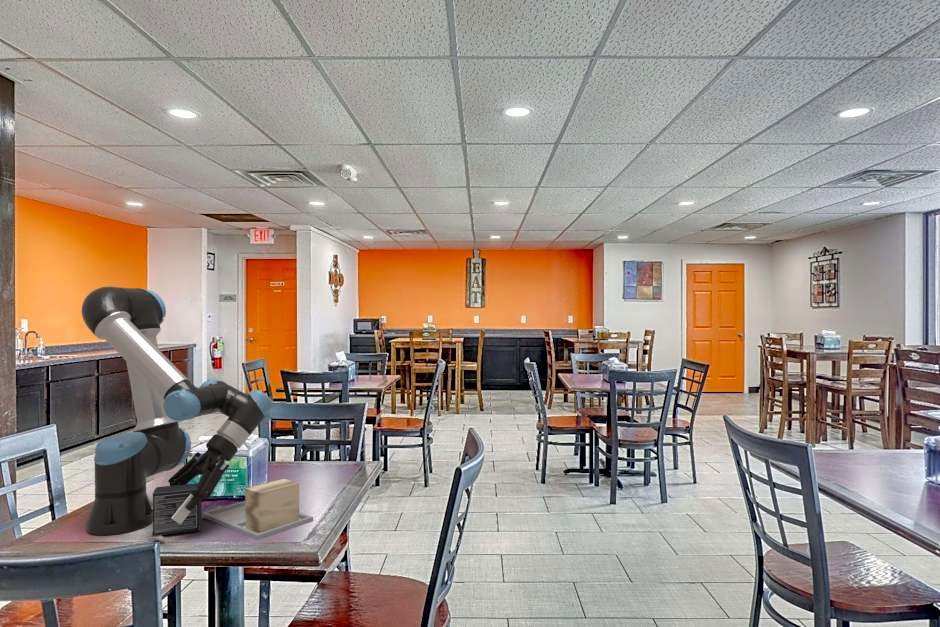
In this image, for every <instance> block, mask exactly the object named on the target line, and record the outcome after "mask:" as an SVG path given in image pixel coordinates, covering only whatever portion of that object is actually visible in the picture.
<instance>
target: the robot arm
mask: <svg viewBox="0 0 940 627" xmlns="http://www.w3.org/2000/svg"><path fill="white" fill-rule="evenodd" d="M81 315H82V316H81V317H82V319H83V322H84V323H85V325H86V328H87V329H89V330H90V332H92V334H93V335H94V336H95V337H96V338H97V339H99V340H105V341H106V342H107V343H108V344H109V345H110V346H111V347H112V348H113V349H114V351H116V352H117V353H118V354H119V355H120V356H121V357H122V358H123V359H124V361H125V362H126V368H127V373H128V379H129V383H130V389H131V395H132V399H133V406H134V411H135V417H136V422H137V423H136V426H135V427H134V428H133V429H132V431H131V432H123V433H118V434H113V435H110V436H107V437H105V438H103V439H101V440H100V441H99V442H97V444H96V446H95V452H94V453H95V454H94V458H93V461H94V462H93V463H94V501H93V504H92V507H91V509H90V513H89V515H88V518H87V521H86V532H87V533H88V534H90V535H97V536H112V535H120V534H125V533H130V532H134V531H137V530H140V529H143V528H145V527H148V526H149V525H151V524H153V505H152V503H151V502H150V498H149V496H148V493H147V478H149V477H152V476H155V475H157V474H161V473H163V472H167V471H172V470H173V469H175V468H177V467H179V466H181V465H182V464H184V462H185V461H186V460H187V459H188V457H189V455H190V453H191V448H192V440H191V437H190V435H189V433H188V432H187V431H185V428H182V427H180V426H179V425H180V424H179V421H185V420H192V419H194V418H197V417H199V418H200V417H203V416H206V415H212V414H215V413H220V414H222V415H224V416H226V417H228V418H227V419H226V420H225V421H224V422H223V423H222V425H221V426H220V427H219V428H218V429H217V430H216V434H213V436H212V437H211V438H209V440H208V442H206V445H205V446H206V448H207V450H206V451H205V452H204V453H203V454H202V453H200V452H199V451H197V452H196V453H195V454H194V455H193V456H192V458H191V459H189V460H188V462H187V463H186V464H184V465H183V466H182V467H181V468H179V470H177V472H175V473H174V474H173V475H171V477H170V478H169V479H168V480H167V481H168V483H169V486H174V485H184V484H189V482H191V481H192V480H194V479H195V478H196V477H197V476H199V475H200V478H199V481H198V482H197V483H198V485H197V487H196V490H195V491H193V492H191V493H192V494H193V495H194V496H193V495H192V494H190V495H189V497H188V498H187V499H186V500H185V502H184V503H183V504H182V505H181V506H180V508H179V509H178V510H177V511H176V513H175V514H174V515H173V516H172V517H171V518H172V519H173V520H175V521H176V522H177V523H179V524H181V523H182V522H183V521H184V520H185V518H186V517H187V516H188V515H189V513H190V512H191V511H192V510H193V509H194V507H195V506H196V505H197V504H198V502H199V501H200V500H201V501H203V500H204V499H205V500H209V499H210V497H211V496H212V494H213V492H214V490H215V488H216V487H217V486H218V484H219V482H220V480H221V479H222V477H223V475H224V473H225V472H226V471H227V470H228V468H230V464H229V463H227V462H230V461H231V460H232V459H233V457H234V456H235V455H236V454H237V452H238V449H240V448H242V446H243V445H244V444H245V443H246V442H247V440H248V439H249V437H250V436H251V435H252V433H253V432H254V431H255V430H256V428H258V427H259V425H260V424H261V422H263V420H264V419H266V417H267V415H268V414H269V413H270V411H271V409H272V408H273V406H274V402H273V401H272V398H270V397H269V396H268V395H267V394H266V393H264V392H263V391H262V390H260V389H259V390H258V389H252V390H250V392H248V393H245V392H243V391H241V390H239V389H237V388H235V387H233V386H232V385H230V384H228V383H227V382H226V381H223V380H220V379H217V378H214V377H211V378H207V380H206V381H204V382H203V383H202V384H201V385H200V386H199V387H197V386H196V385H195V384H193V382H191V380H189V378H187V376H185V375H184V373H182V371H181V370H179V369H178V367H176V365H175V364H174V363H172V361H171V360H170V359H169V358H167V356H166V355H164V354H163V352H162V351H161V350H160V349H159V344H158V340H157V336H158V334H159V333H160V332H161V329H162V328H161V325H162V323H163V322H164V321H165V319H164V318H165V317H166V315H167V310H166V304H165V301H164V300H163V299H162V297H161V296H160V295H159V294H158V293H156V292H154V291H153V290H150V289H145V288H140V287H136V288H133V287H120V286H119V287H118V286H116V287H115V286H103V287H99V288H96V289H94V290H93V291H91V292H90V293H89V294H87V296H86V297H85V298H84V300H83V303H82V306H81ZM186 451H188V452H186ZM185 452H186V453H185Z"/></svg>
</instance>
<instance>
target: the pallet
mask: <svg viewBox="0 0 940 627" xmlns="http://www.w3.org/2000/svg"><path fill="white" fill-rule="evenodd" d="M201 519H206V520H208V521H211V522H213V523H216V524H219V525H220V526H222V527H225V528H227V529H230V530H232V531H234V532H237V533H239V534H242V535H245V536H247V537H249V538H251V539H254V540H257V541H258V540H262V539H264V538H267V537H270V536H273V535H277V534H279V533H281V532H286V531H287V530H290V529H293V528H296V527H300V526H303V525H306V524H308V523H312V522H314V517H313V516H311V515H308V514H305V513H302V512H300V511H299V520H298V521H295V522H292V523H289V524H286V525H283V526H280V527H277V528H274V529H271V530H267V531H264V532H261V533H257V532H254V531H252V530H249V529H247V528H245V500H243V501H239V502H236V503H232V504H228V505H225V506H221V507H218V508H213V509H210V510H207V511H201Z"/></svg>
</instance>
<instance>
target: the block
mask: <svg viewBox="0 0 940 627" xmlns="http://www.w3.org/2000/svg"><path fill="white" fill-rule="evenodd" d="M244 491H245V492H244V498H245V500H244V501H245V528H247V529H249V530H252V531H254V532H257V533H261V532H264V531H267V530H271V529H274V528H277V527H280V526H283V525H286V524H289V523H292V522H295V521H298V520H299V512H300V483H299V482H297V481H293V480H289V479H286V478H281V479H276V480H273V481H268V482H264V483H260V484H257V485H253V486H249V487H246V488H245V490H244Z"/></svg>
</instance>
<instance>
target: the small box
mask: <svg viewBox="0 0 940 627" xmlns="http://www.w3.org/2000/svg"><path fill="white" fill-rule="evenodd" d="M198 483H199V482H195V483H187V484H184V485H174V486H170V485H168V486H167V485H166V486H164V485H163V486H157V487H156V488H154V490H153V492H152V501H153V502H152V507H153V522H152V534H151V536H152V537H158V536H159V537H160V536H167V535H174V534H180V533H183V534H184V533H191V532H198V531H200V530H201V526H202V518H201V513H202V500H200V501H199V502H198V504H197V505H196V506H195V507H194V509H193V510H192V511H191V512H190V513H189V515H188V516H187V517H186V518H185V520H184V521H183V522H182V523H181V524H179V523H177V522H176V521H175V520H173V519H172V518H171V517H172V516H173V515H174V514H175V513H176V511H177V510H178V509H179V508H180V506H181V505H182V504H183V503H184V502H185V500H186V499H187V498H188V497H189V495H190V494H192V493H191V492H193V491H195V490H196V487H197V485H198ZM192 495H193V494H192ZM193 496H194V495H193Z"/></svg>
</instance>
